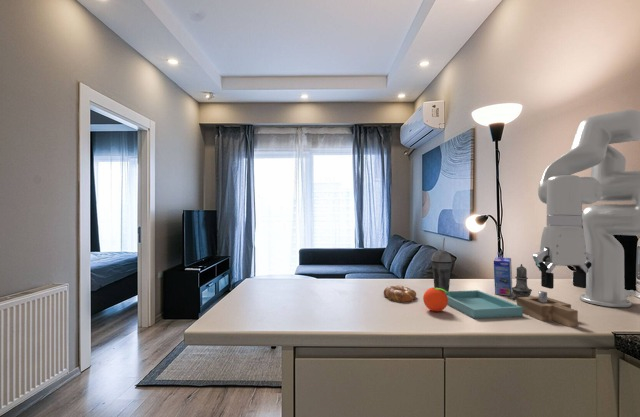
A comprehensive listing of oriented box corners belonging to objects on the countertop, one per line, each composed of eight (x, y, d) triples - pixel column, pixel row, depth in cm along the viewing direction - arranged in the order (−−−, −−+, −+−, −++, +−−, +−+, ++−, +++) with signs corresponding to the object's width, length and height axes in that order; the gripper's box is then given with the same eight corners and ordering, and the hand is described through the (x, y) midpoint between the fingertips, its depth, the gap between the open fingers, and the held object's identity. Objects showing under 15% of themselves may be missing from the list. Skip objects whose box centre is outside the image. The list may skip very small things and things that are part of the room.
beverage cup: (426, 291, 120) (426, 237, 120) (443, 290, 122) (443, 236, 122) (439, 296, 113) (439, 239, 113) (457, 295, 115) (456, 238, 115)
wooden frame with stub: (543, 309, 98) (543, 296, 98) (588, 325, 85) (588, 310, 85) (517, 310, 97) (517, 297, 97) (558, 327, 83) (558, 311, 83)
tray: (478, 297, 112) (478, 290, 112) (522, 316, 92) (522, 307, 92) (437, 299, 110) (437, 291, 110) (474, 318, 90) (474, 309, 90)
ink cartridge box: (495, 288, 125) (495, 250, 125) (512, 290, 122) (512, 251, 122) (493, 294, 116) (493, 253, 116) (511, 296, 113) (511, 254, 113)
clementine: (454, 310, 98) (453, 286, 98) (448, 316, 92) (448, 291, 92) (426, 306, 102) (426, 283, 102) (420, 312, 96) (420, 287, 96)
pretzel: (421, 304, 106) (421, 292, 106) (387, 303, 106) (387, 292, 106) (411, 294, 118) (411, 283, 118) (381, 293, 118) (381, 283, 118)
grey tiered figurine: (535, 302, 105) (535, 265, 106) (515, 301, 107) (515, 265, 107) (527, 298, 111) (527, 262, 111) (508, 297, 112) (508, 262, 112)
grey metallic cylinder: (543, 313, 94) (543, 291, 94) (549, 315, 92) (548, 292, 92) (537, 313, 94) (536, 291, 94) (542, 316, 92) (542, 293, 92)
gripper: (578, 222, 91) (578, 284, 91) (523, 221, 89) (523, 284, 88) (606, 223, 84) (606, 290, 84) (546, 222, 81) (546, 291, 81)
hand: (563, 287), depth 86 cm, fingers open, 9 cm apart
